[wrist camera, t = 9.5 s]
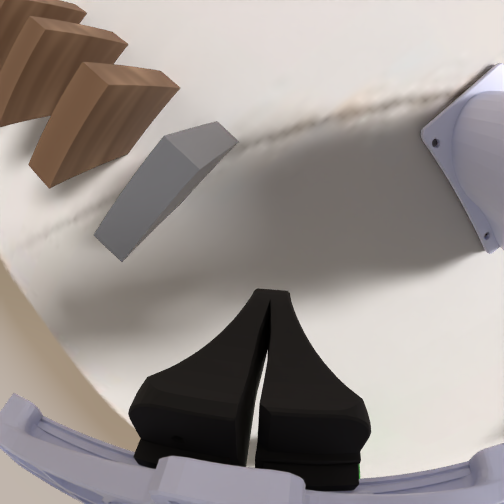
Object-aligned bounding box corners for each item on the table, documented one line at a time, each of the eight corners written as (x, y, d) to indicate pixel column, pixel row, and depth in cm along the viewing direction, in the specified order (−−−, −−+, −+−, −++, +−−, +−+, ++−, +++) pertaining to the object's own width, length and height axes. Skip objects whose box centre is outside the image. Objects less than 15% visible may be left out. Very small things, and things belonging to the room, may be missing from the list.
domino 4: (238, 141, 15) (199, 169, 9) (180, 203, 18) (122, 262, 11) (217, 121, 15) (163, 136, 9) (160, 185, 17) (93, 235, 11)
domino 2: (128, 44, 13) (45, 29, 7) (82, 110, 15) (-2, 127, 9) (112, 32, 13) (29, 15, 7) (68, 96, 15) (-15, 110, 9)
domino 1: (87, 13, 12) (7, -3, 6) (47, 75, 14) (-34, 83, 8) (74, 4, 12) (-4, -11, 6) (36, 64, 14) (-42, 71, 8)
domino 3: (180, 87, 14) (108, 84, 8) (128, 153, 16) (49, 188, 10) (160, 71, 14) (82, 61, 8) (110, 137, 16) (28, 164, 10)
